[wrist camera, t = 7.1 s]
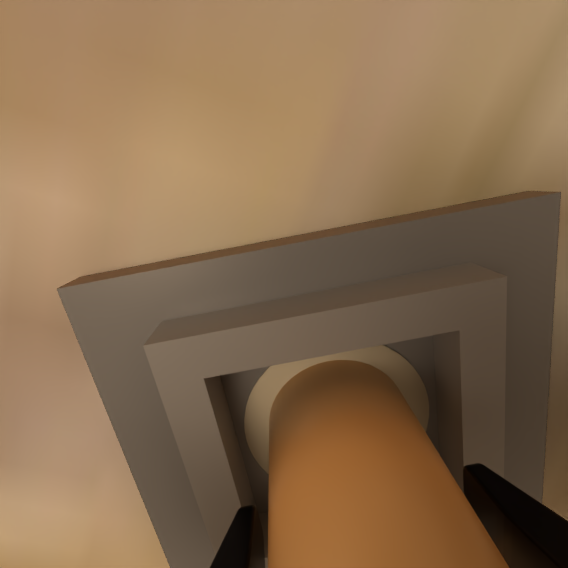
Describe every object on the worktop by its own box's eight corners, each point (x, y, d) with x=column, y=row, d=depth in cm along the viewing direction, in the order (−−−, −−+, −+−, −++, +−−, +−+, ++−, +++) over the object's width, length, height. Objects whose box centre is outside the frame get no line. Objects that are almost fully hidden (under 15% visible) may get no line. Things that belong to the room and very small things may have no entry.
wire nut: (399, 347, 10) (569, 566, 4) (409, 462, 11) (550, 747, 6) (256, 373, 10) (236, 622, 4) (282, 484, 11) (293, 787, 6)
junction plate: (527, 191, 10) (616, 193, 8) (518, 488, 14) (576, 559, 11) (80, 277, 10) (17, 308, 8) (184, 550, 14) (165, 635, 11)
